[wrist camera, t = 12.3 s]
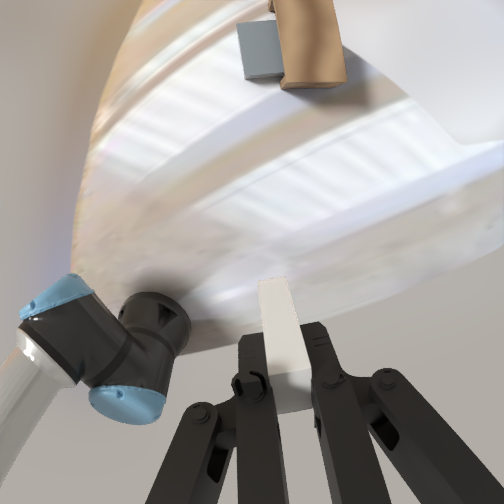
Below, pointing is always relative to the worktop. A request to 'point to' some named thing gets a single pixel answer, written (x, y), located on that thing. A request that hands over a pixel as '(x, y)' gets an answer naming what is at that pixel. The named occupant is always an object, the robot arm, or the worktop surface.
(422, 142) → the worktop surface
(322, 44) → the tan wooden channel
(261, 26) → the tile
